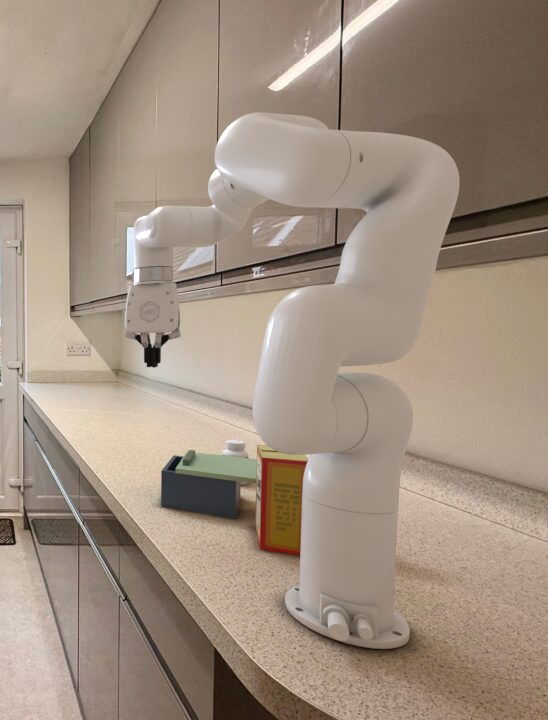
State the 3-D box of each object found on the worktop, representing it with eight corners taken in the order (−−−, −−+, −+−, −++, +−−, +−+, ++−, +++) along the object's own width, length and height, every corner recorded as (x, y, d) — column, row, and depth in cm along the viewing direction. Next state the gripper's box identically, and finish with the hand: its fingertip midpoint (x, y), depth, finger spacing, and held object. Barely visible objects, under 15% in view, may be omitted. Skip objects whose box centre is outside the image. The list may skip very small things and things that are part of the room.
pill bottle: (244, 479, 119) (244, 439, 118) (251, 486, 114) (252, 444, 113) (219, 477, 120) (220, 438, 120) (225, 484, 115) (226, 443, 115)
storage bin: (235, 519, 95) (236, 480, 95) (161, 506, 103) (161, 470, 102) (240, 497, 107) (241, 463, 106) (173, 487, 114) (173, 455, 114)
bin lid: (261, 484, 92) (261, 473, 92) (175, 473, 100) (175, 462, 100) (263, 464, 105) (263, 454, 105) (186, 455, 113) (187, 446, 113)
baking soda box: (306, 556, 80) (309, 459, 79) (260, 549, 83) (262, 455, 82) (297, 533, 88) (299, 445, 87) (255, 528, 91) (257, 442, 90)
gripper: (111, 279, 102) (111, 367, 103) (189, 273, 94) (188, 369, 95) (121, 281, 108) (120, 364, 110) (195, 276, 100) (194, 366, 102)
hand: (152, 366), depth 103 cm, fingers closed
